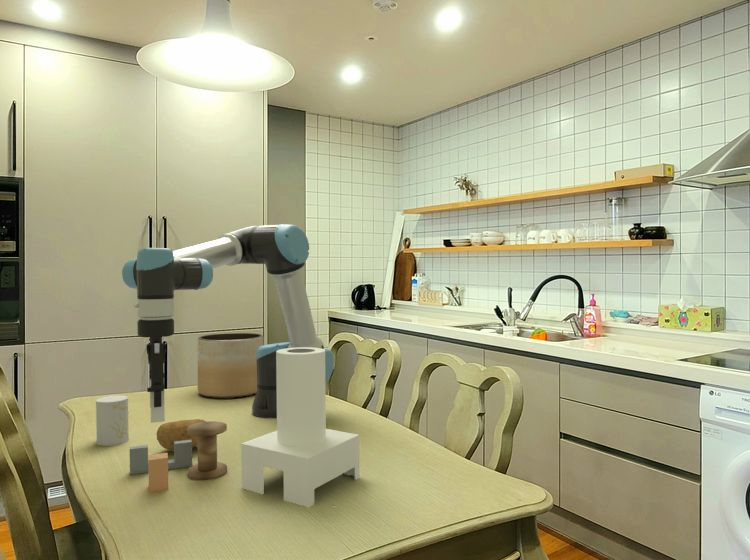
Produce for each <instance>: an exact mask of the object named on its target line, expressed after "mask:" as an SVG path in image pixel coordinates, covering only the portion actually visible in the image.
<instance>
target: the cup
mask: <svg viewBox="0 0 750 560" xmlns="http://www.w3.org/2000/svg"><path fill="white" fill-rule="evenodd" d="M95 408H96V409H95V411H96V414H95V415H96V416H95V417H96V419H95V421H96V422H95V423H96V444H97V445H98V446H102V447H103V446H104V447H110V446H116V445H117V446H118V445H121V444H125V443H126V442H128V441H129V440H130V439H129V438H130V437H129V436H130V435H129V432H130V431H129V397H128V396H127V395H108V396H103V397H100V398H97V399H96V400H95Z"/></svg>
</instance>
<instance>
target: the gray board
mask: <svg viewBox="0 0 750 560" xmlns="http://www.w3.org/2000/svg"><path fill="white" fill-rule="evenodd" d="M148 455H149V445H148V444H143V445H135V446H129V475H130V476H131V475H136V474H145V473H148ZM173 456H174V459H171V460H169V459H168V470H174V469H181V468H187V467H188V468H190V467H191V466H193V448H192V440H184V441H175V442H174V451H173Z"/></svg>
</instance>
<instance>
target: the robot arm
mask: <svg viewBox="0 0 750 560" xmlns="http://www.w3.org/2000/svg"><path fill="white" fill-rule="evenodd" d="M309 251H310V244H309V239H308V237H307V235H306V232H305V231H304V230H303V229H302V228H301V227H299V226H298V225H295V224H287V223H281V224H266V225H252V226H246V227H244V228H240V229H237V230H233V231H230V232H228V233H224V234H221V235H220V236H218V238H217V239H215V240H210V241H207V242H203V243H200V244H196V245H193V246H188V247H184V248H180V249H176V250H173V249H172V248H169V247H168V248H165V247H143V248H142V247H141V249H139V250H138V251H137V255H136V256H137V257H136V258H132V259H130V260H128V261H126V262H125V263H124V265H123V267H122V269H121V275H122V279H123V280H122V281H123V283H124V284H125V285H126V286H127V287H128V288H130V289H136V290H137V292H136V293H137V303H134V304H133V307H134V308H135V309H137V308H138V309H137V317H138V318H140V319H138V320H137V323H136V324H137V336H138V337H140V338H148V339H149V340H148V341H149V343H147V344H146V354H147V363H148V365H149V378H150V379H149V387H147V391H146V393H149V408H150V424H151V423H153V424H154V423H163V422H164V423H165V421H166V420H165V415H166V414H165V412H166V411H165V410H166V409H165V387H166V385H165V377H166V375H165V374H166V373H165V372H164V371H165V370H164V368H165V367H164V364H165V363H166V352H167V344H166V342H165V343H164V342H163V337H166V338H167V337H171V336H173V335H174V334H175V320H174V318H172V317H174V316H175V298H174V297H175V291H189V290H191V291H192V290H195V291H197V290H202V289H206V288H208V286H210V285H211V283H213V278H214V269H216V268H219V267H221V266H229V267H230V266H231V267H232V266H236V265H241V264H243V265H247V264H249V265H250V264H251V265H253V264H254V265H255V264H256V265H257V264H258V265H265V268H266V269H265V270H266V272H267V274H268V275H270V276H272V278H274V279H273V280H274V284H275V288H276V290H277V291H276V292H277V295H278V299H279V300H278V301H279V303H280V308H281V311H282V314H283V319H284V322H285V323H284V324H285V326H286V332H287V335H288V339H289V341H287V342H277V343H270V344H265V345H264V344H263V346H260V347H259V348H258V350H257V358H256V360H257V392H256V394H255V396H254V399H253V402H252V406H251V414H252V415H253V416H256V417H260V418H277V378H276V351H277V350H280V349H285V348H296V347H313V348H322V349H325V384H326V383H327V382H328V381H329V380H330V378H331V376H332V373H333V370H334V364H335V358H334V357H335V356H334V354H333V351H332V350H331V349H328V348H325V347H324V342H323V339H321V338H319V337H317V333H316V328H315V325H314V319H313V316H312V311H311V306H310V302H309V299H308V298H309V297H308V294H307V290H306V285H305V281H304V276H303V269H304V268H305V265H306V263H305V262H306V261H307V260H308V258H309V254H310V252H309Z"/></svg>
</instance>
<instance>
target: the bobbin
mask: <svg viewBox="0 0 750 560" xmlns="http://www.w3.org/2000/svg"><path fill="white" fill-rule="evenodd" d="M227 427H228V426H227V424H226V423H225V422H222V421H210V420H209V421H206V422H200V423H196V424H192V425H190V426H188V427H187V434H188V435H191V436H197V444H198V445H197V463H196V464H194V465H192V466H190V467H188V469H187V477H188V478H189V479H191V480H199V481H203V480H204V481H205V480H206V481H207V480H212V479H213V480H214V479H217V478H221V477H222V476H225V475H226V473H227V472H228V465H227V464H226V463H223V462H219V461H218V439H217V438H218V437H217V436H218V435H220V434H224V433H225V432H226V431H227V430H228V428H227Z"/></svg>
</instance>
